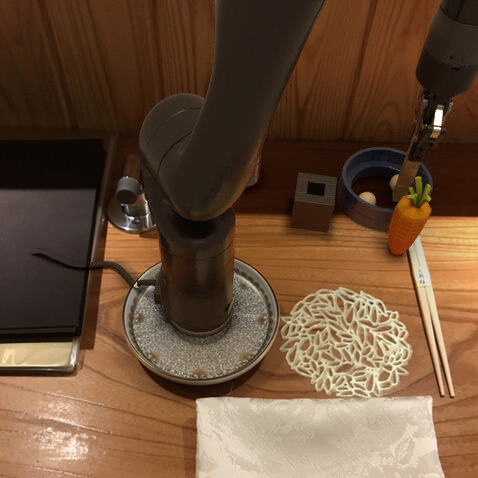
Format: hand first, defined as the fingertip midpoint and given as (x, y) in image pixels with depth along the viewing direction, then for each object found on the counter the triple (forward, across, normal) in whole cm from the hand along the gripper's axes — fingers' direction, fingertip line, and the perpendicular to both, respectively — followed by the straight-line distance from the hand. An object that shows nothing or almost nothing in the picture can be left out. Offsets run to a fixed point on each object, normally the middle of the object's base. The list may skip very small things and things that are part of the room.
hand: (414, 154), depth 84 cm
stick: (+9, 0, 0) cm, 9 cm away
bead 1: (+8, +2, -5) cm, 10 cm away
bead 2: (+8, -2, 0) cm, 9 cm away
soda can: (+11, -1, -26) cm, 28 cm away
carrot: (+11, +11, 0) cm, 15 cm away
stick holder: (+11, +6, -14) cm, 18 cm away
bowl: (+11, 0, -3) cm, 11 cm away
